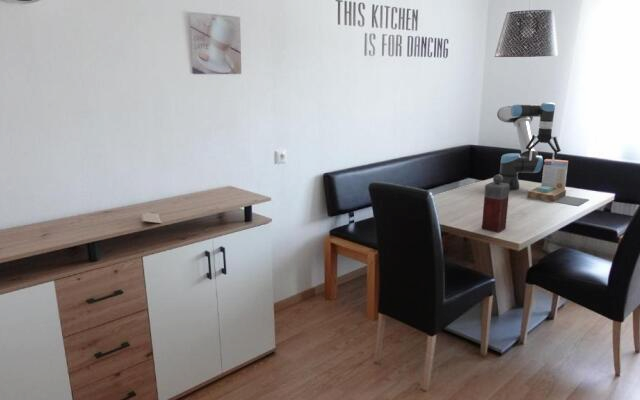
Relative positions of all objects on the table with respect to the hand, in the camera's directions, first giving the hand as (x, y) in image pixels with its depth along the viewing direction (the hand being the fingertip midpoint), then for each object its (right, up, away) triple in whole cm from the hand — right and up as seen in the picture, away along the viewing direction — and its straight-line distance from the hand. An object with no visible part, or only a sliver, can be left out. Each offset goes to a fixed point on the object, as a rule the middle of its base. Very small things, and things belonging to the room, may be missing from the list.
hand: (541, 161), depth 304 cm
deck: (+3, -23, 0) cm, 23 cm away
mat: (+14, -25, -11) cm, 31 cm away
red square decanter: (-52, -39, -61) cm, 90 cm away
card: (+2, -19, -1) cm, 19 cm away
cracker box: (+14, -19, +15) cm, 28 cm away
